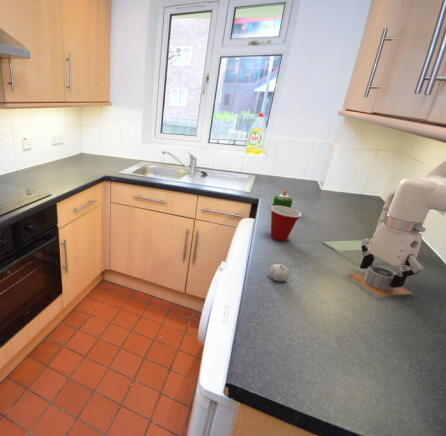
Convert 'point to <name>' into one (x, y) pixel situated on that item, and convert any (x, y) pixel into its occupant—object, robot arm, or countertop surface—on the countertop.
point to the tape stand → (378, 291)
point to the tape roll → (379, 277)
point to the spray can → (386, 208)
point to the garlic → (279, 272)
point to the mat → (345, 245)
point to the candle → (282, 200)
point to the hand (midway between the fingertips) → (379, 277)
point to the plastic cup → (282, 221)
